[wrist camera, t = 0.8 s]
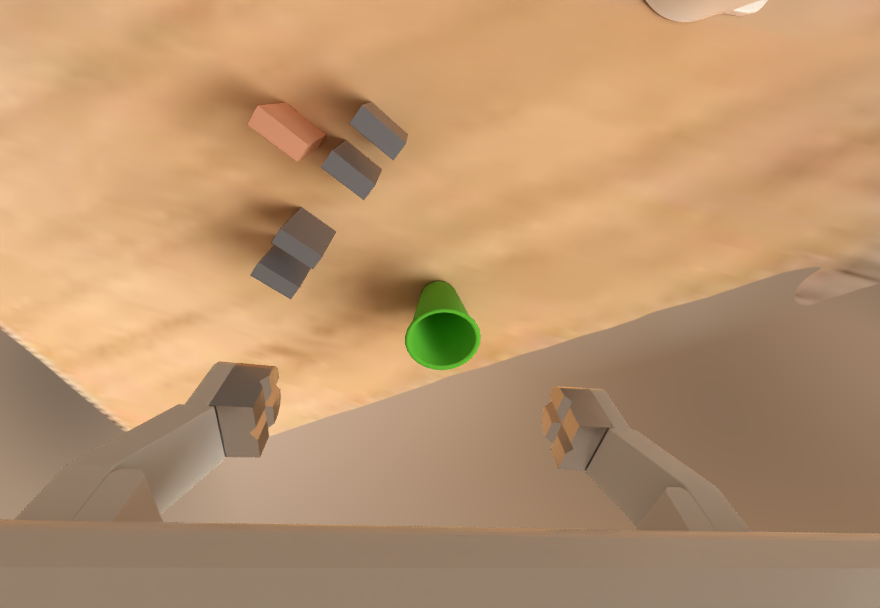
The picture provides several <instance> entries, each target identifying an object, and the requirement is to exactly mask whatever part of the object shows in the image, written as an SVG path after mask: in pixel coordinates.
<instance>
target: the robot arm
mask: <svg viewBox="0 0 880 608" xmlns="http://www.w3.org/2000/svg"><path fill="white" fill-rule="evenodd" d="M646 2H647V3H648V4H649V6H650V7H651V8H652V9H653V10H654V11H655V12H657V13H658V14H660V15H661V16H663V17H665V18H667V19H670V20H673V21H679V22H692V21H697V20H701V19H705V18H707V17H710V16H713V15H717V14H722V13H725V14H729V15H735V16H746V15H749V14H751V13H754V12H756V11H758V10H759V9H760V8H761V7H762V6H763V5H764V4H765V3H766V2H767V0H646ZM278 379H279V373H278V368H277V367H276V366H266V365H255V364H244V363H230V362H218V363H216V364H214V365H213V367H212V368H211V369H210V371H209V372H208V374H207V375H206V376H205V378H204V379H203V380H202V382H201V383H200V384H199V386H198V387H197V388H196V390H195V391H194V393H193V394H192V395H191V397H190V398H189V399H188V401H187V402H186V403H185V405H179V404H178V405H176V406H175V407H173V408H171V409H169V410H167V411H165V412H163V413H161V414H160V415H158V416H156V417H154V418H152V419H150V420H148V421H147V422H145V423H143V424H141V425H139V426H137V427H135V428H133V429H132V430H130V431H128V432H126V433H124V434H122V435H120V436H119V437H117V438H115V439H113V440H111V441H109V442H107V443H106V444H104V445H102V446H100V447H98V448H96V449H94V450H92V451H90V452H89V453H87V454H85V455H83V456H81V457H79V458H77V459H76V460H74V461H72V462H70V463H68V464H66V465H65V466H64V467H63V468H62V469H61V470H60V471H59V472H58V474H57V475H56V476H55V477H54V478H53V479H52V480H51V481H50V482H49V483H48V484H47V485H46V486H45V487H44V488H43V490H42V491H41V492H40V493H39V494H38V495H37V496H36V497H35V498H34V499H33V500H32V501H31V502H30V503H29V504H28V505H27V507H26V508H25V509H24V510H23V511H22V512H21V513H20V514H19V515H18V516H17V517H16V518H15V519H14V520H2V519H0V608H880V534H867V533H863V534H862V533H795V532H794V533H792V532H751V531H750V530H749V528H748V527H747V526H746V524H745V523H744V522H743V520H742V519H741V518H740V517H739V515H738V514H737V513H736V511H735V510H734V509H733V508H732V506H731V505H730V504H729V502H728V501H727V500H726V498H725V497H724V496H723V494H722V493H721V492H720V491H719V489H718V488H717V487H716V486H714V485H713V484H711V483H710V482H708V481H707V480H706V479H704V478H703V477H701V476H700V475H699V474H697V473H696V472H694V471H693V470H691V469H690V468H689V467H687V466H686V465H684V464H683V463H682V462H680V461H679V460H677V459H676V458H674V457H673V456H672V455H670V454H669V453H667V452H666V451H665V450H663V449H662V448H660V447H659V446H657V445H656V444H655V443H653V442H652V441H650V440H649V439H648V438H646V437H645V436H643V435H642V434H641V433H639V432H638V431H636V430H631V429H630V428H629V426H628V425H627V423H626V422H625V420H624V419H623V417H622V415H621V414H620V413H619V411H618V409H617V408H616V406H615V405H614V403H613V402H612V400H611V399H610V397H609V396H608V394H607V392H606V391H604V390H603V389H596V388H575V387H559V386H555V387H554V388H553V389H552V391H551V393H550V398H551V400H552V402H550V403H549V404H548V405H546V406H545V408H544V411H543V414H542V426H543V431H544V434H545V436H546V438H548V439H549V440H550V441H551V442H552V443H553V445H552V448H551V451H552V454H553V457H554V460H555V462H556V465H557V467H558V469H565V470H580V471H586V474H587V475H588V476H589V477H590V478H591V479H592V480H593V481H594V482H595V483H596V484H597V485H598V486H599V487H600V488H601V489H602V490H603V492H604V493H605V494H607V496H608V497H609V498H610V499H611V500H612V501H613V502H614V503H615V504H616V505H617V506H618V507H619V509H620V510H622V512H623V513H624V514H625V515H626V516H627V517H628V518H629V519H630V520H631V521H632V522H633V523H634V524H635V525H636V526H637V528H636V530H614V529H612V530H611V529H551V528H550V529H549V528H482V527H423V526H367V525H308V524H246V523H186V522H185V523H184V522H163V520H162V518H161V515H160V514H162V513H163V512H164V511H165V510H166V509H167V508H169V507H170V506H171V505H172V504H173V503H174V502H176V501H177V500H178V499H179V498H180V497H181V496H183V495H184V494H185V493H186V492H187V491H188V490H190V489H191V488H192V487H193V486H194V485H195V484H197V483H198V482H199V481H200V480H201V479H202V478H203V477H205V476H206V475H207V474H208V473H209V472H211V471H212V470H213V469H214V468H215V467H216V466H218V465H219V464H220V463H221V462H222V461H223V460H225V457H260V456H261V454H262V451H263V449H264V447H265V444H266V442H267V440H268V437H269V433H268V427H270V426H271V425H273V424H274V423H275V421H276V418H277V415H278V412H279V407H280V400H281V393H280V389H279V388H278V387H277V386H276V383H277V381H278Z"/></svg>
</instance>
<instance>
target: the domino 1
mask: <svg viewBox="0 0 880 608" xmlns="http://www.w3.org/2000/svg"><path fill="white" fill-rule="evenodd" d="M247 125H249V126H250V127H251V128H253V129H254V130H255V131H257V132H258V133H259V134H261V135H262V136H263V137H265V138H266V139H267V140H269V141H270V142H271V143H273V144H274V145H275V146H277V147H278V148H279V149H281V150H282V151H283V152H285V153H286V154H287V155H289V156H290V157H291V158H293V159H294V160H295V161H297V162H298V161H299V160H301V159H302V158H304V157H306V156H307V155H309V154H310V153H312V152H314V151H315V150H317V148H318V147H319V145H320V144H321V142H322V141H323V139H324V137H325V136H326V135H325V134H324V133H323V132H322V131H321V130H319V129H318V128H317V127H316V126H314V125H313V124H312V123H311V122H309V121H308V120H307V119H306V118H304V117H303V116H302V115H301V114H299V113H298V112H297V111H296V110H295V109H293V108H292V107H291V106H290V105H288V104H287V103H286V102H283V103H275V104H266V105H258V106H257V108H256V109H255V111H254V113H253V115H252V117H251V119H250V121H249V123H248V124H247Z"/></svg>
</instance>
